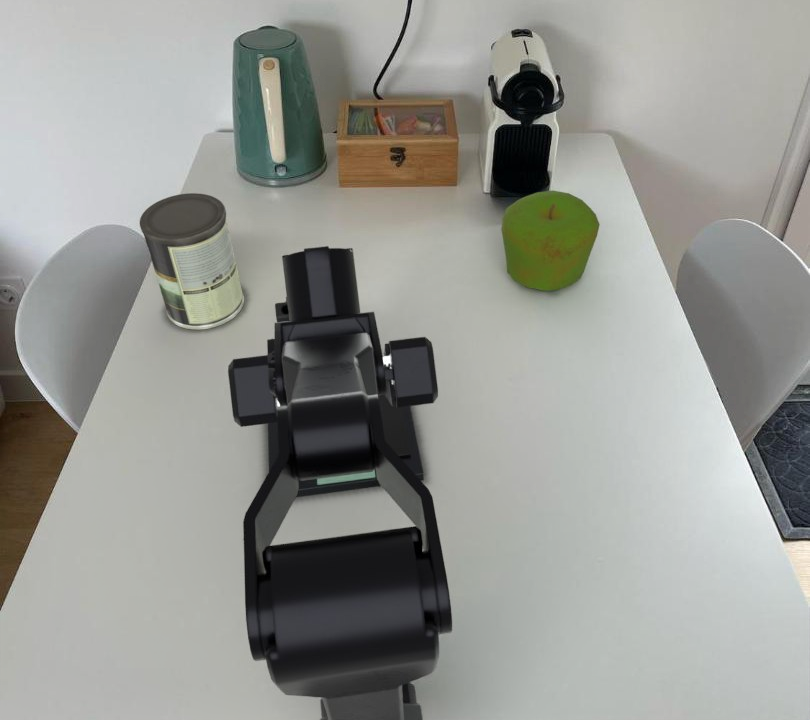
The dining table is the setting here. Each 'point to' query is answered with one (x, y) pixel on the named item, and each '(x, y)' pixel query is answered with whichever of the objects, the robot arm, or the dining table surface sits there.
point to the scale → (406, 447)
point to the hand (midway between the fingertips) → (335, 383)
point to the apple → (548, 239)
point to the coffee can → (193, 260)
